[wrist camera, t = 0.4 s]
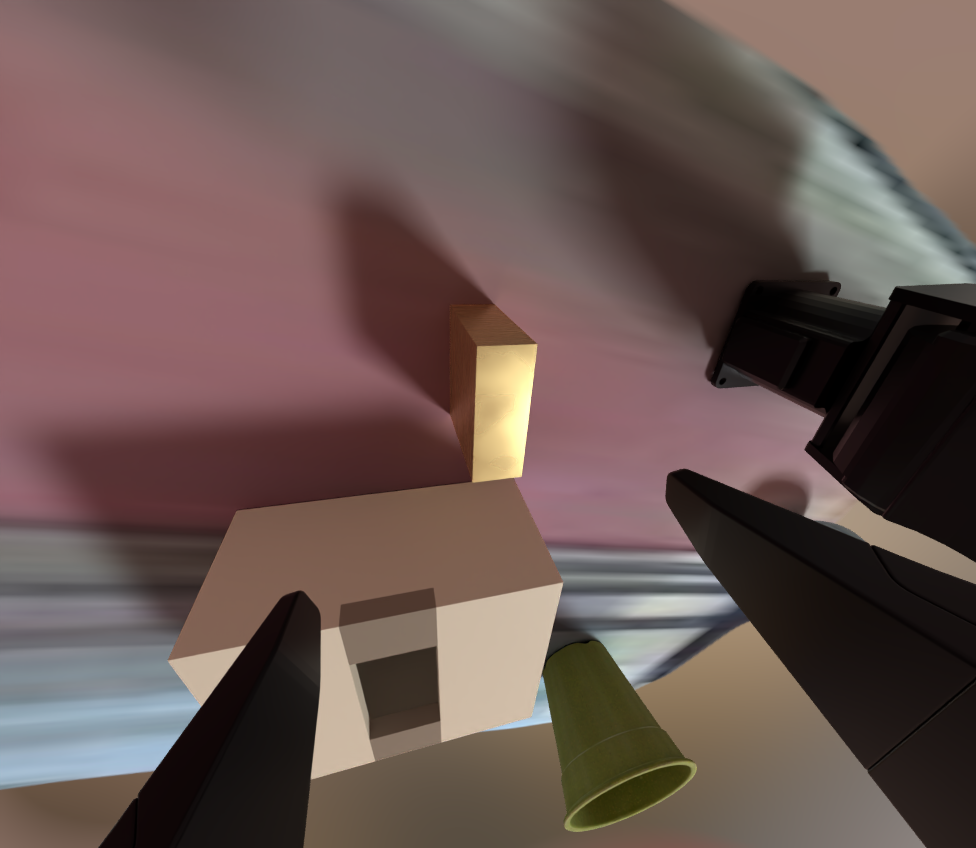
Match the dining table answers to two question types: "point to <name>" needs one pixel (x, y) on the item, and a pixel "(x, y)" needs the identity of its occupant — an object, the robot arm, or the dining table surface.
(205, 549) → the dining table surface
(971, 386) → the robot arm
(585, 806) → the plant pot
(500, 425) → the block
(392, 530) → the box
